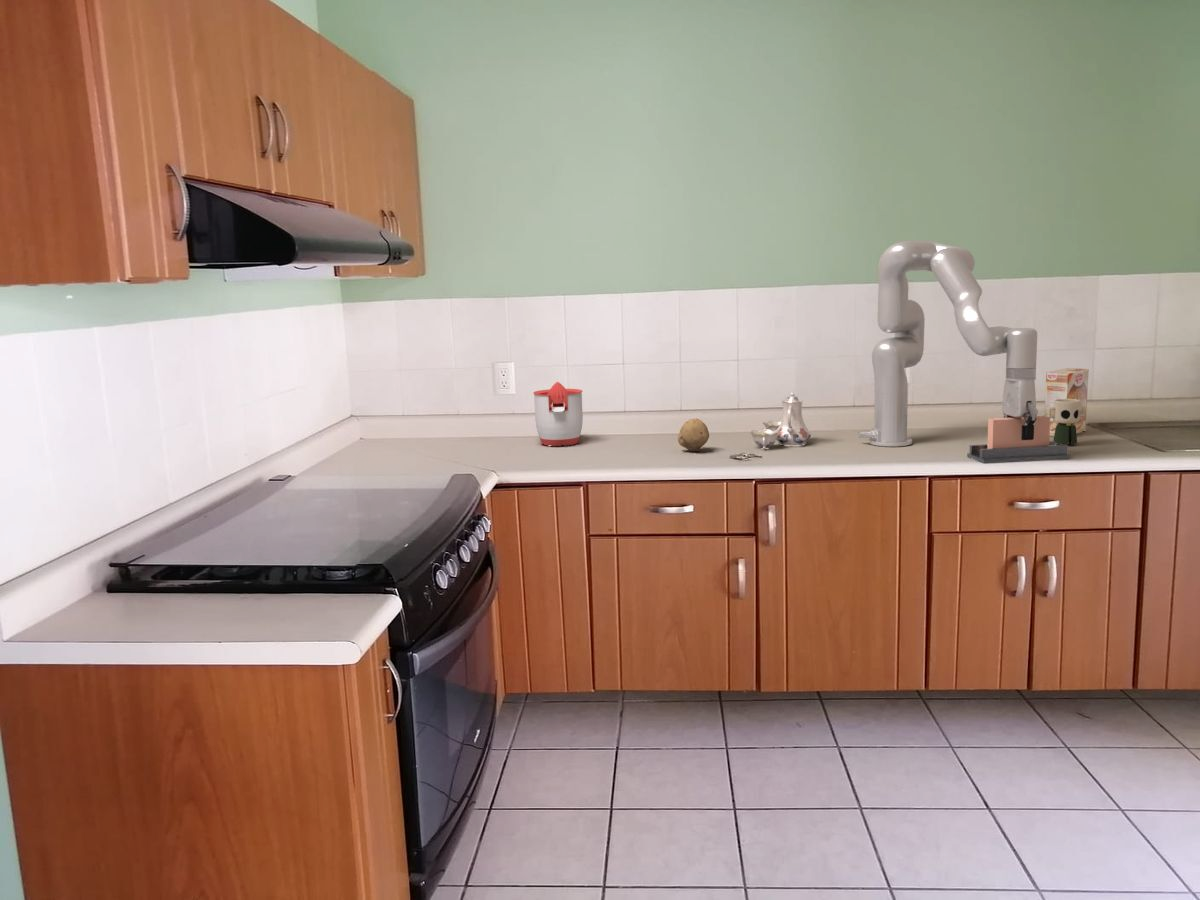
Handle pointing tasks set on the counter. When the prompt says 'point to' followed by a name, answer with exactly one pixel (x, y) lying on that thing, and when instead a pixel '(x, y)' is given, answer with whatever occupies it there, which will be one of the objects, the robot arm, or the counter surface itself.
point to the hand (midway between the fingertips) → (1018, 436)
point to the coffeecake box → (1066, 392)
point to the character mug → (1066, 419)
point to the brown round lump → (693, 435)
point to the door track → (1018, 453)
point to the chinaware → (784, 426)
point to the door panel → (1016, 432)
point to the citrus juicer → (558, 415)
